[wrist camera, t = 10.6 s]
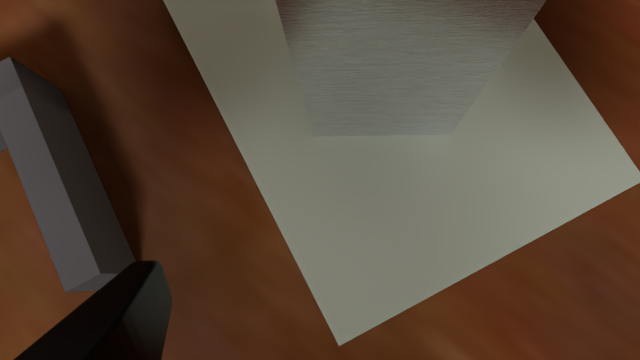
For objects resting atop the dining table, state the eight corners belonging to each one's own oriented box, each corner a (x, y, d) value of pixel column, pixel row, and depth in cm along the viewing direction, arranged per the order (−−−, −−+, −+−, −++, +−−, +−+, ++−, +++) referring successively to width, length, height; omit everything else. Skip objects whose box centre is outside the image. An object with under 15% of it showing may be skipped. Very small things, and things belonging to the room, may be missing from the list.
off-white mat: (634, 182, 18) (645, 179, 17) (339, 343, 17) (338, 346, 16) (410, -145, 21) (412, -157, 20) (156, -16, 20) (150, -25, 20)
